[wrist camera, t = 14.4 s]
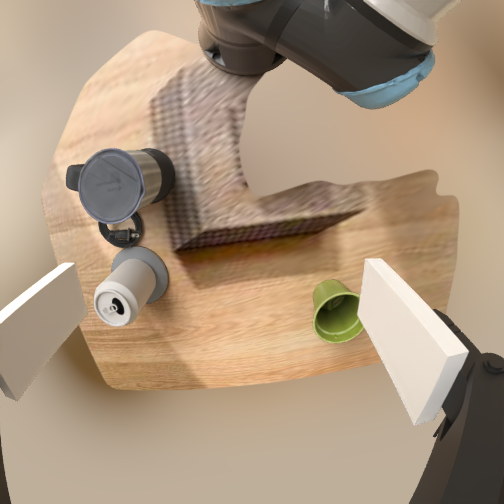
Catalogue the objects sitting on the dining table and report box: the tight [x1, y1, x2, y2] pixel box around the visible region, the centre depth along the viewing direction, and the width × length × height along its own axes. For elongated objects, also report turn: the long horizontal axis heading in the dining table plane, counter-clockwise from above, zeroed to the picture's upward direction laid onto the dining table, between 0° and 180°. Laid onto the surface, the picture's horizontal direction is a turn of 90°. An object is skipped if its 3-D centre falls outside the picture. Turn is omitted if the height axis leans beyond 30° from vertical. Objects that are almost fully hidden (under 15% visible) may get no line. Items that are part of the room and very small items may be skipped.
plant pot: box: [313, 280, 364, 343], centre depth 47 cm, size 9×9×9 cm
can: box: [94, 259, 156, 327], centre depth 44 cm, size 8×8×12 cm
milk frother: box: [66, 148, 175, 248], centre depth 39 cm, size 14×16×15 cm
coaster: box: [111, 246, 168, 304], centre depth 50 cm, size 11×11×1 cm
